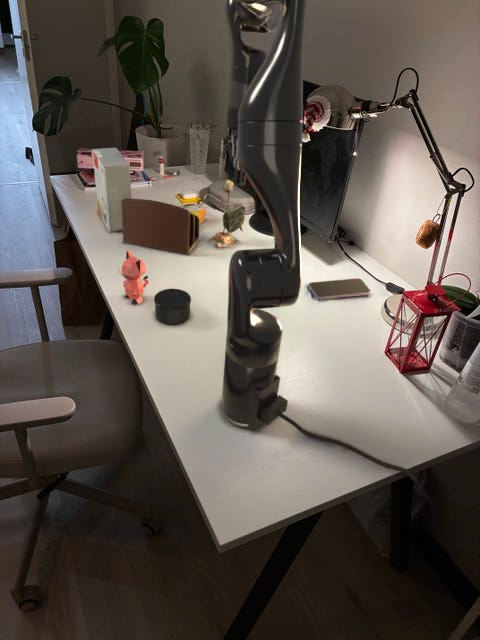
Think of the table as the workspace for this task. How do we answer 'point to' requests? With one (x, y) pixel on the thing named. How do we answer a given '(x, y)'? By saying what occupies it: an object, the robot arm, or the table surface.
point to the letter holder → (159, 225)
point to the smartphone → (339, 288)
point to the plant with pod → (229, 220)
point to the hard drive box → (111, 185)
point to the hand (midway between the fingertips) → (239, 184)
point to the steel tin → (172, 306)
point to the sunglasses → (198, 212)
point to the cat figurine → (133, 278)
